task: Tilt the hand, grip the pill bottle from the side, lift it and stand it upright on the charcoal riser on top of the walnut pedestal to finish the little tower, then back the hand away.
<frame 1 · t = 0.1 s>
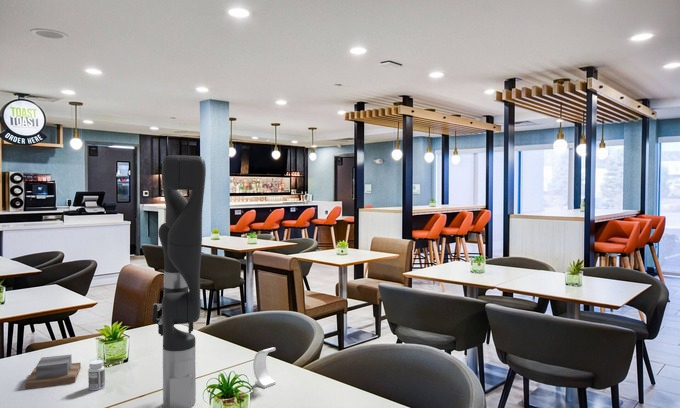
hand: (176, 333, 155), 17 cm above the table, fingers open, 8 cm apart
pill bottle: (96, 388, 155), on the table
pedestal: (54, 377, 163), on the table
headphone stand: (264, 384, 159), on the table
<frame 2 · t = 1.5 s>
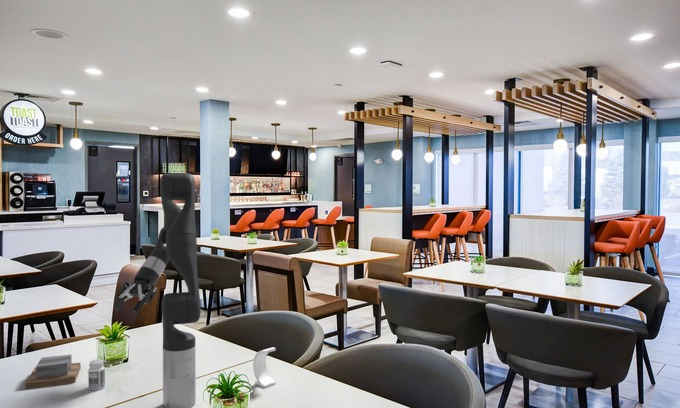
hand: (125, 310, 165), 22 cm above the table, fingers open, 8 cm apart
nothing on the table moved.
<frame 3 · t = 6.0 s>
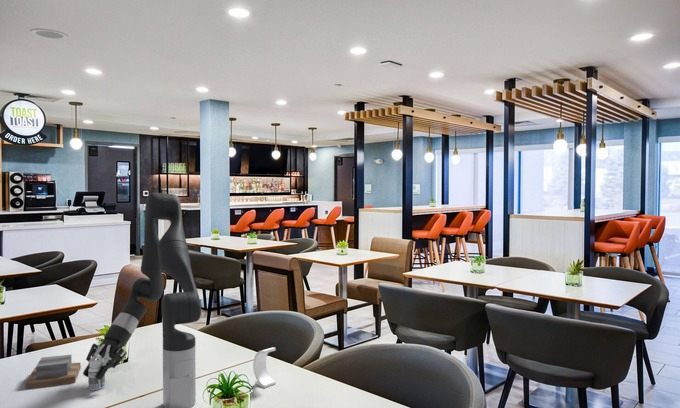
hand: (91, 376, 153), 4 cm above the table, fingers closed on pill bottle, 4 cm apart
pill bottle: (96, 388, 155), on the table, touching gripper
everything else where it was.
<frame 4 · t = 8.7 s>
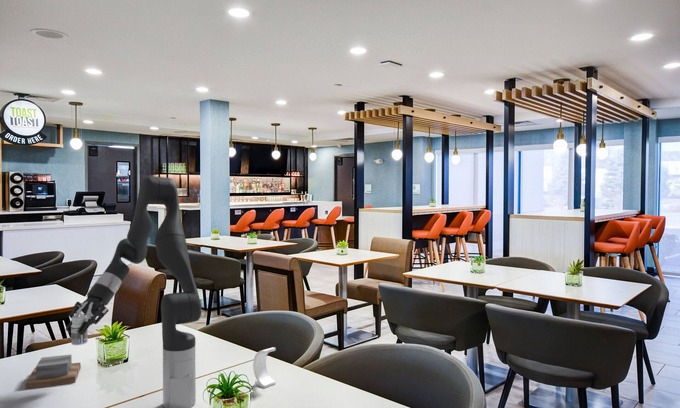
hand: (74, 332, 157), 17 cm above the table, fingers closed on pill bottle, 4 cm apart
pill bottle: (79, 343, 159), point 13 cm above the table, touching gripper
everything else where it was.
when the fingers open (11 cm above the table, at t = 11.5 s): pill bottle drops 1 cm, resting on pedestal.
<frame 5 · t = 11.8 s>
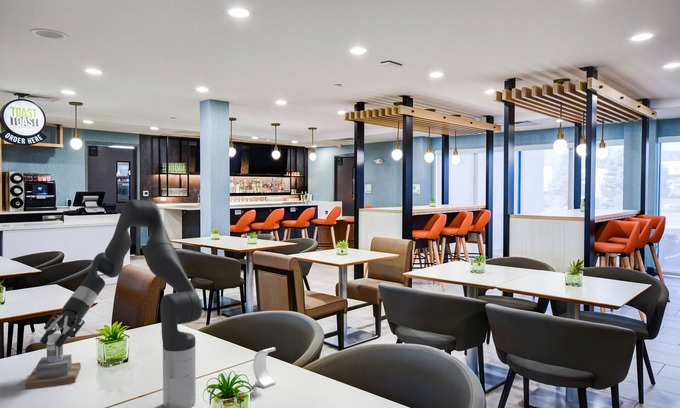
hand: (49, 344, 161), 12 cm above the table, fingers open, 6 cm apart
pill bottle: (54, 360, 163), point 6 cm above the table, touching pedestal
everything else where it was.
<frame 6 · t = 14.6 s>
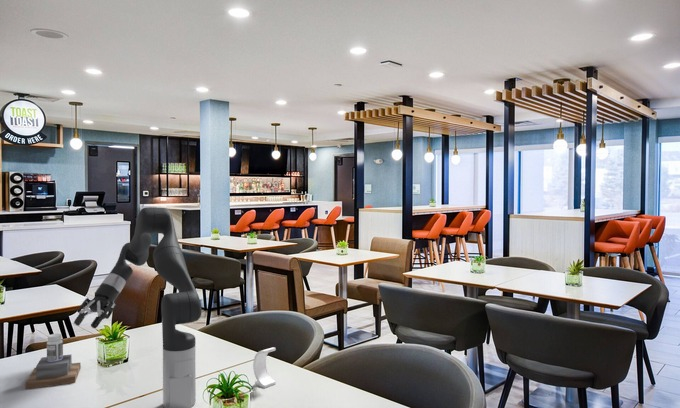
hand: (84, 325, 173), 15 cm above the table, fingers open, 8 cm apart
nothing on the table moved.
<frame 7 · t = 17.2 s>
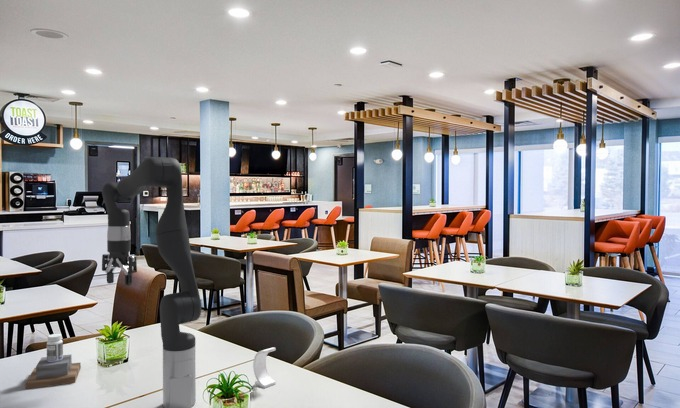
hand: (119, 284, 171), 30 cm above the table, fingers open, 8 cm apart
nothing on the table moved.
at the end: pill bottle 0.3 cm off-centre on the pedestal, point 5.8 cm above the pedestal's base; pill bottle tilted 0°; the gripper is holding nothing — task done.
